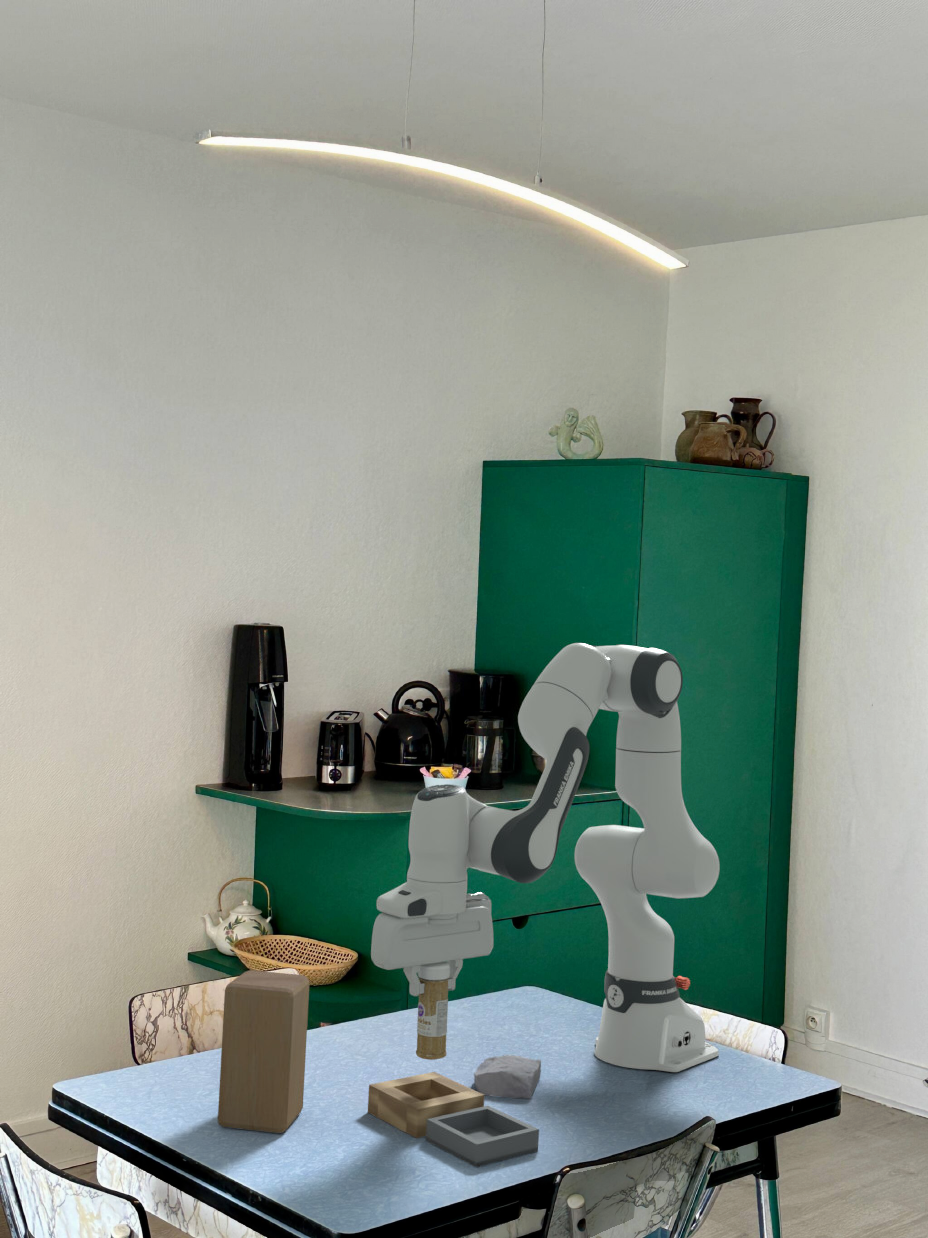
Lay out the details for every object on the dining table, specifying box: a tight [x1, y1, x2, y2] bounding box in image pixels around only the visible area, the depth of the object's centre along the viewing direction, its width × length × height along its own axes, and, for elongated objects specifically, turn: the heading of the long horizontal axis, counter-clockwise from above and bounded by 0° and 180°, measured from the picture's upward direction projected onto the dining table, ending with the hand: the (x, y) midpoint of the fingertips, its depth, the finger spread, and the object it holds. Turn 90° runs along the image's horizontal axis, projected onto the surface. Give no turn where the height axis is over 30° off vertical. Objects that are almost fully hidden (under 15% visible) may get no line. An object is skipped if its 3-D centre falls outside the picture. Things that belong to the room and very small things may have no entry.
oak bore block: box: [367, 1071, 485, 1139], centre depth 196 cm, size 12×12×4 cm
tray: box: [425, 1105, 540, 1168], centre depth 186 cm, size 11×11×3 cm
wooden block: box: [217, 969, 310, 1134], centre depth 192 cm, size 10×10×20 cm
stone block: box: [473, 1054, 542, 1100], centre depth 213 cm, size 12×5×10 cm
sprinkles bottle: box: [415, 961, 450, 1061], centre depth 196 cm, size 5×5×13 cm
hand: (432, 992), depth 196 cm, fingers closed on sprinkles bottle, 4 cm apart
